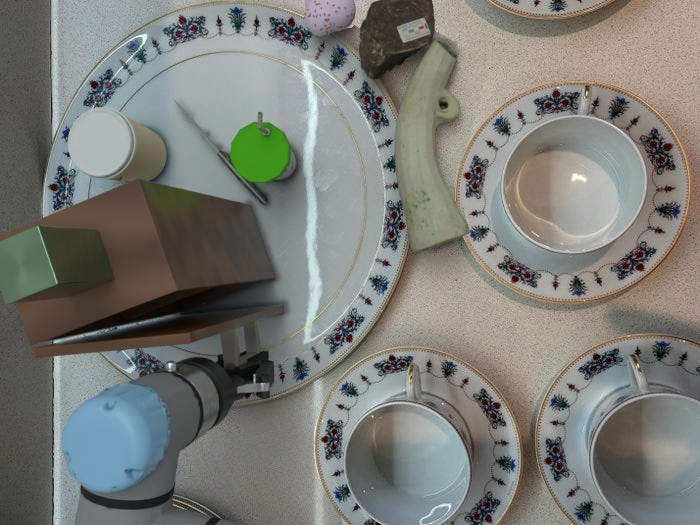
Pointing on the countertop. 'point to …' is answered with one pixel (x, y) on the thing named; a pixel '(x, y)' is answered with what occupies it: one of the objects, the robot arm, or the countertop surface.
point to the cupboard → (152, 258)
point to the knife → (230, 164)
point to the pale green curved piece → (427, 153)
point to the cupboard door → (175, 334)
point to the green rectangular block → (51, 264)
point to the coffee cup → (115, 147)
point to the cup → (262, 153)
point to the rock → (394, 33)
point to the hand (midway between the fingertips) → (257, 360)
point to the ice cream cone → (328, 15)
